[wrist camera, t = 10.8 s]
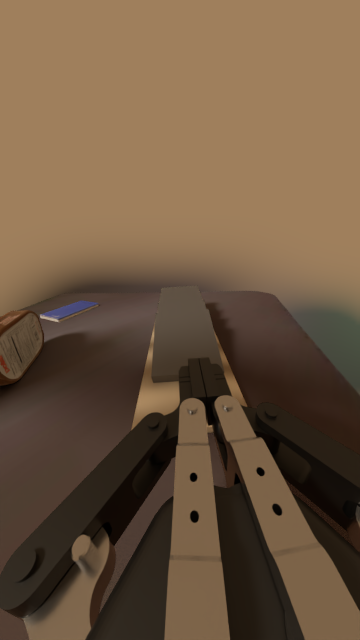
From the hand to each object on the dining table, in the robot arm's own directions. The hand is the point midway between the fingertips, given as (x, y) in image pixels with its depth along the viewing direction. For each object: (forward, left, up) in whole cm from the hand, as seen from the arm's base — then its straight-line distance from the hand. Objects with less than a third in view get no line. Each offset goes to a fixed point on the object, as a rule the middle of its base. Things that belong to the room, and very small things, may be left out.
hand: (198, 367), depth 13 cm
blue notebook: (-38, +34, -10) cm, 52 cm away
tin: (-29, +10, -9) cm, 32 cm away
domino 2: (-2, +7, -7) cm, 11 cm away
